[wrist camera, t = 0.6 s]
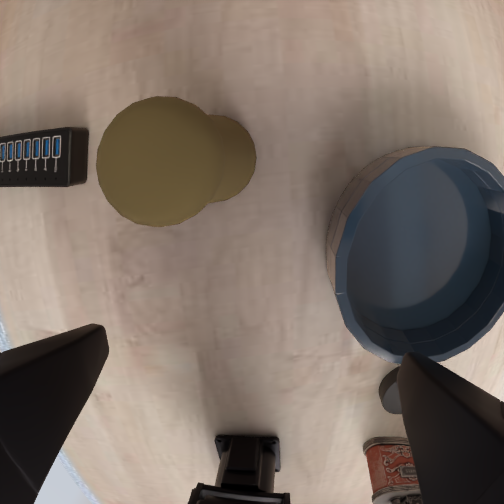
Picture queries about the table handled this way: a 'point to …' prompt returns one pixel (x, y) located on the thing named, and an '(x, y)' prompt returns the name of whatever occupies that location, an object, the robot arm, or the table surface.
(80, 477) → the table surface
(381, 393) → the dark disc-based rod
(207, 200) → the olive game pawn
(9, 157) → the multiport hub
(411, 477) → the lighter
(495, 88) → the table surface
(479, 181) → the bowl
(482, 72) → the table surface
